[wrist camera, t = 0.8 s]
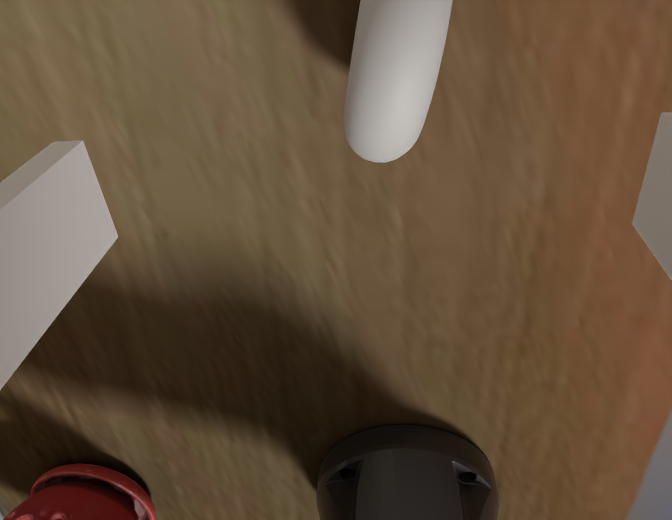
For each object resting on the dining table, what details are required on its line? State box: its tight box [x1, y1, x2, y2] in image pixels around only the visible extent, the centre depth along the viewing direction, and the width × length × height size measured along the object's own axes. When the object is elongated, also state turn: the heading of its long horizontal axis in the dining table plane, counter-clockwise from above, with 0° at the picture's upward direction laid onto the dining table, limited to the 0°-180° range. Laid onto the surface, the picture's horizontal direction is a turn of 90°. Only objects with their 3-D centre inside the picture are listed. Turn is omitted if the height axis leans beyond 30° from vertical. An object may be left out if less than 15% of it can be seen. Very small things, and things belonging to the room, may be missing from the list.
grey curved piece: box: [344, 0, 452, 162], centre depth 23 cm, size 10×4×10 cm, turn 172°
